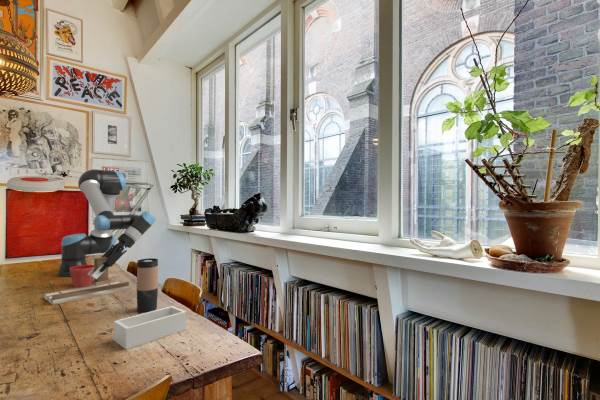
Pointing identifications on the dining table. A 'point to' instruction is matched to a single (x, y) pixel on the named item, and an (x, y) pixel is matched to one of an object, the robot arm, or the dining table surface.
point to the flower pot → (81, 275)
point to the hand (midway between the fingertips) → (92, 276)
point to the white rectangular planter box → (149, 326)
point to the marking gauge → (104, 276)
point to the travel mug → (147, 285)
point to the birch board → (85, 292)
